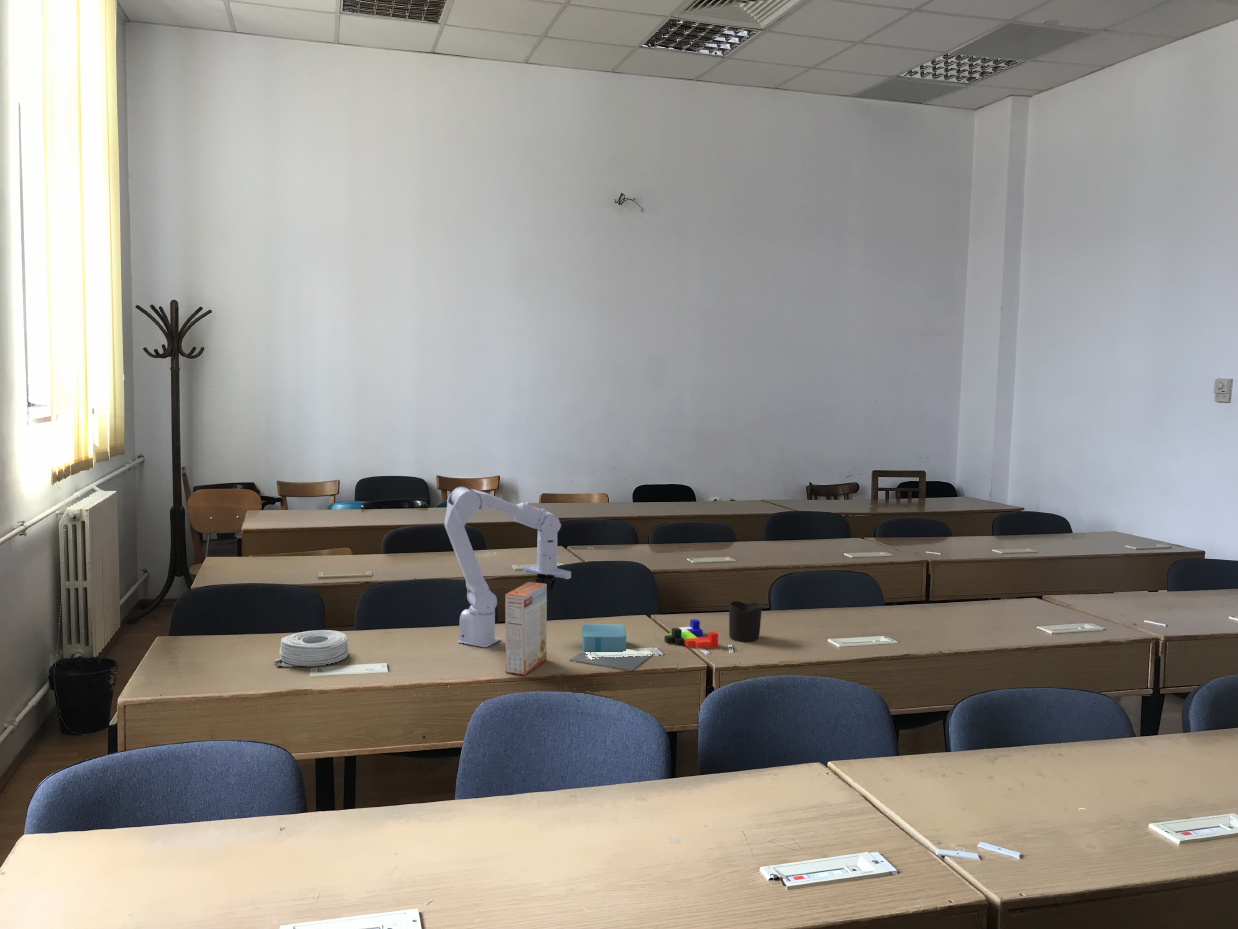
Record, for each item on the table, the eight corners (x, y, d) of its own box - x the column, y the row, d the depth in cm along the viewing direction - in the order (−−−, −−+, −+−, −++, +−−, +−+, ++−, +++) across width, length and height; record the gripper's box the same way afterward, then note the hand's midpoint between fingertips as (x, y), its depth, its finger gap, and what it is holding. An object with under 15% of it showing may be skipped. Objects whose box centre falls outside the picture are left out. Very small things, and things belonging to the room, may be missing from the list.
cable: (269, 669, 241) (269, 646, 240) (292, 647, 258) (291, 626, 258) (338, 670, 241) (338, 647, 241) (356, 648, 259) (356, 627, 258)
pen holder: (744, 644, 269) (746, 610, 268) (721, 636, 277) (722, 603, 276) (767, 639, 275) (768, 605, 274) (743, 631, 283) (744, 598, 281)
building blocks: (656, 636, 277) (656, 622, 276) (696, 633, 281) (697, 619, 280) (675, 652, 263) (676, 637, 262) (717, 648, 267) (718, 633, 266)
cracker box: (526, 656, 254) (527, 580, 252) (547, 659, 252) (548, 583, 250) (503, 673, 241) (504, 593, 239) (524, 676, 239) (525, 595, 237)
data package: (582, 652, 258) (626, 652, 259) (582, 636, 258) (626, 636, 258) (581, 639, 270) (623, 639, 271) (582, 623, 269) (624, 624, 270)
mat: (569, 660, 252) (569, 659, 252) (594, 644, 266) (594, 643, 266) (631, 671, 245) (631, 670, 245) (654, 653, 259) (654, 652, 259)
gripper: (576, 554, 272) (575, 600, 273) (531, 548, 277) (531, 594, 279) (565, 558, 265) (564, 606, 267) (519, 553, 271) (519, 599, 272)
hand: (546, 600), depth 272 cm, fingers closed
